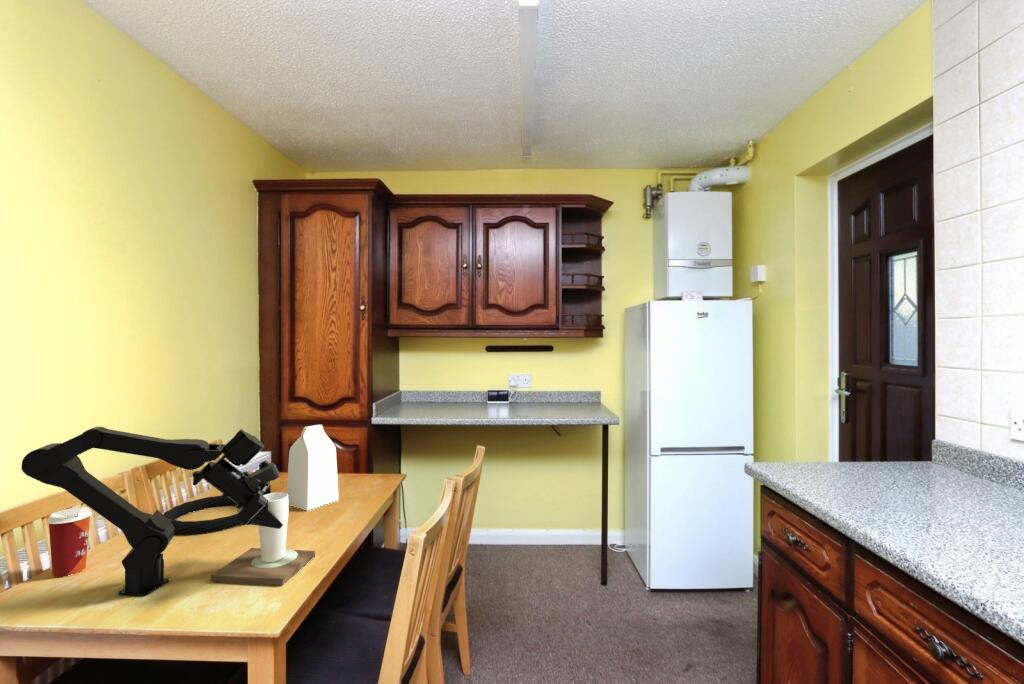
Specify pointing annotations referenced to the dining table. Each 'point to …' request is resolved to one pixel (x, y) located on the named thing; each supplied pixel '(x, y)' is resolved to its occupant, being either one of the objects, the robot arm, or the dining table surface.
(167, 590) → the dining table surface
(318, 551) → the dining table surface
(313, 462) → the milk
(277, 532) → the drinking glass
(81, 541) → the paper cup
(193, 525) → the cable lock
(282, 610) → the dining table surface
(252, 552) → the walnut board
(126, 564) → the robot arm
